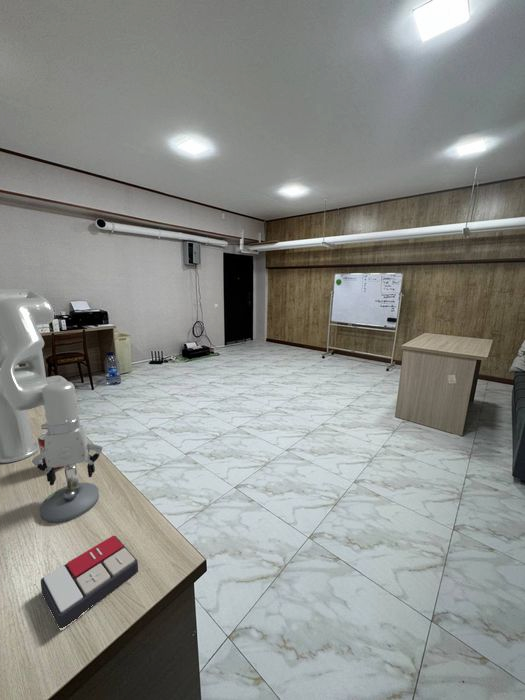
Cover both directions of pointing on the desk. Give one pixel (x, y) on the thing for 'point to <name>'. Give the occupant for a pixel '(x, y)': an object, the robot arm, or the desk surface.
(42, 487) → the desk surface
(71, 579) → the calculator
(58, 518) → the dial plate
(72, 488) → the light bulb
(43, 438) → the soda can
